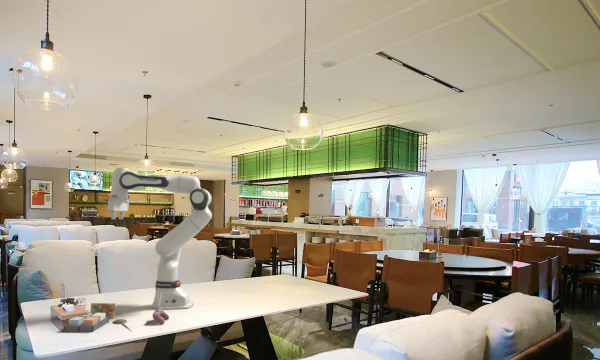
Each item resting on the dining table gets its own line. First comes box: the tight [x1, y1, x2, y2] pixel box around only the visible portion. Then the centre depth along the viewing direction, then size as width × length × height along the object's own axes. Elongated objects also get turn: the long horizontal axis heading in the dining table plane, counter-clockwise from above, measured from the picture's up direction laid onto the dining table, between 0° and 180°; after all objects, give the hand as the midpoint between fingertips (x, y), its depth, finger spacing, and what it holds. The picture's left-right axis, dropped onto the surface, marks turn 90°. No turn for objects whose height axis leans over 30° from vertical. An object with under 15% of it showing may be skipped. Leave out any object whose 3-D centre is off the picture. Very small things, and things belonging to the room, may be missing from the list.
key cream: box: [91, 313, 106, 321], centre depth 166 cm, size 4×5×3 cm
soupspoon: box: [111, 318, 133, 333], centre depth 166 cm, size 22×3×7 cm
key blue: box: [67, 316, 84, 325], centre depth 159 cm, size 4×5×3 cm
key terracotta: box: [83, 317, 98, 325], centre depth 159 cm, size 4×5×3 cm
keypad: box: [63, 317, 110, 333], centre depth 162 cm, size 12×15×4 cm
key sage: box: [83, 312, 92, 319], centre depth 166 cm, size 4×5×3 cm
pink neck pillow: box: [152, 308, 170, 325], centre depth 177 cm, size 10×5×7 cm, turn 5°
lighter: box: [57, 297, 78, 307], centre depth 176 cm, size 8×3×10 cm, turn 145°
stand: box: [89, 302, 116, 319], centre depth 176 cm, size 12×4×8 cm, turn 93°
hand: (117, 219), depth 211 cm, fingers open, 8 cm apart
